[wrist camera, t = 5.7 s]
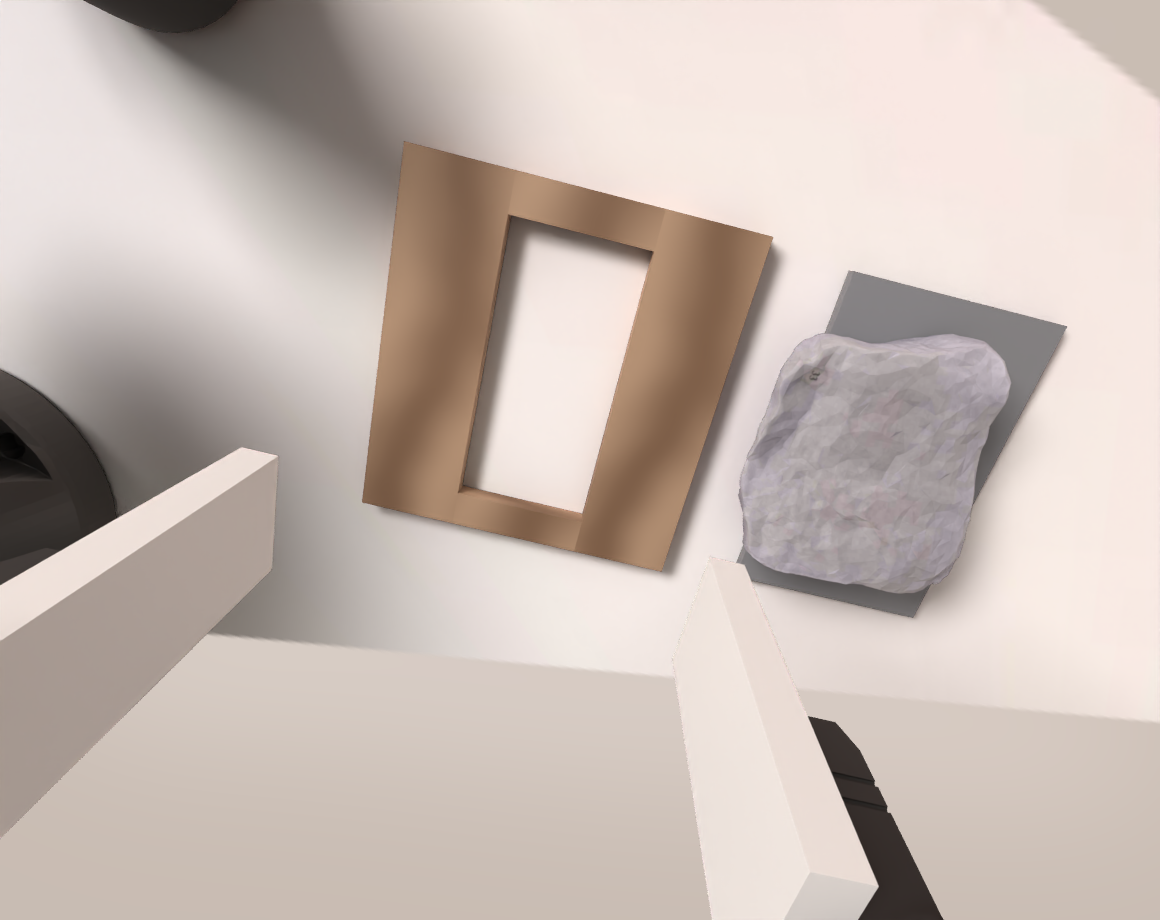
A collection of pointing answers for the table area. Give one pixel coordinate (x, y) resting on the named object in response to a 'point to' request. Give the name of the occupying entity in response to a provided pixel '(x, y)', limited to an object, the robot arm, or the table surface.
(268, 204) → the table surface
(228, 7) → the mug
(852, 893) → the robot arm
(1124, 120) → the table surface
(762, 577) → the mat
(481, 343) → the pocket board
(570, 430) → the table surface
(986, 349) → the stone block
